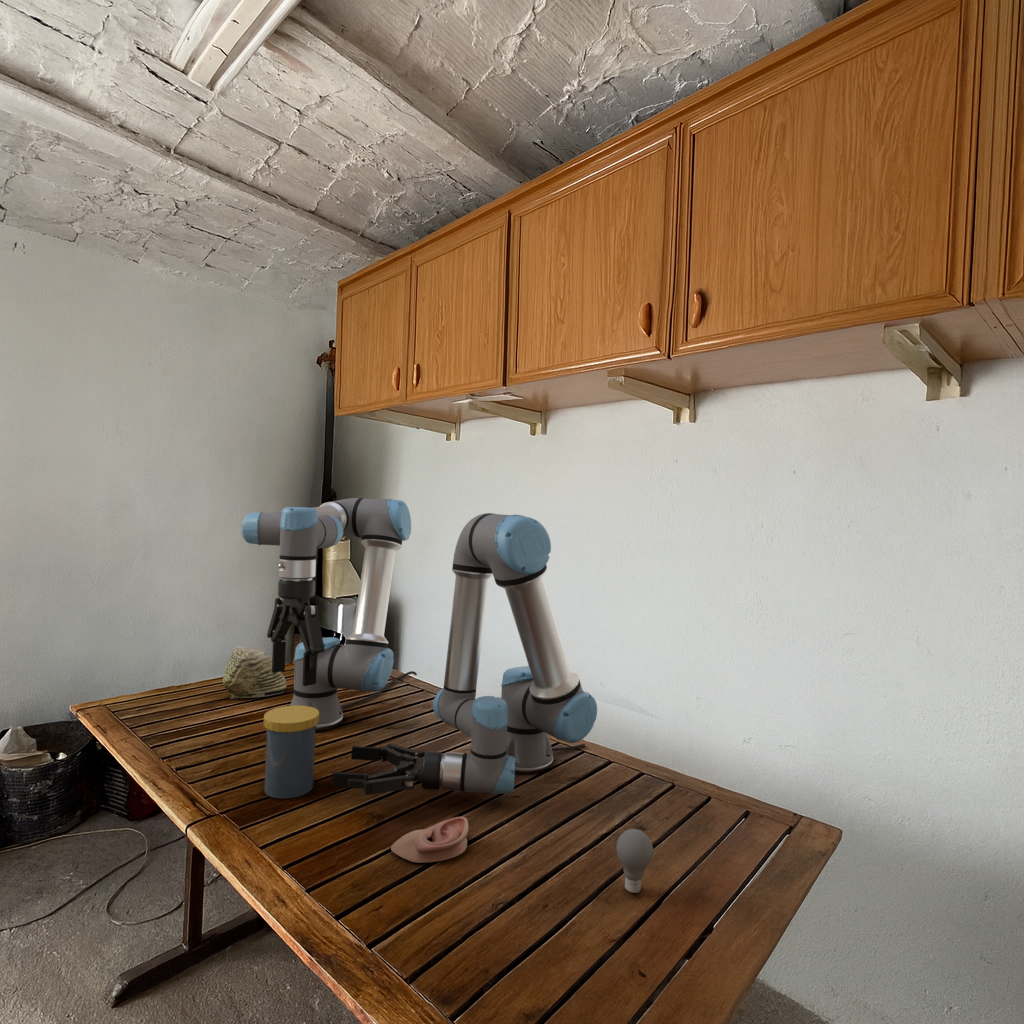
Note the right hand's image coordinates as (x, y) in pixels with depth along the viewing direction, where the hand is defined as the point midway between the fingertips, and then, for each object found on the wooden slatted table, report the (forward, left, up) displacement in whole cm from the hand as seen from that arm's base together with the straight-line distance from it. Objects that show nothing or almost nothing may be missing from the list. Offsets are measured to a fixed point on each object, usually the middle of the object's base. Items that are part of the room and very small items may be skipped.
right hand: (342, 765), depth 135 cm
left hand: (+10, -6, +18) cm, 21 cm away
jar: (+10, -6, -6) cm, 14 cm away
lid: (+10, -6, +9) cm, 15 cm away
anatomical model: (-13, +25, -6) cm, 29 cm away
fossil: (+19, -75, -6) cm, 77 cm away
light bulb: (-42, +48, -6) cm, 64 cm away
